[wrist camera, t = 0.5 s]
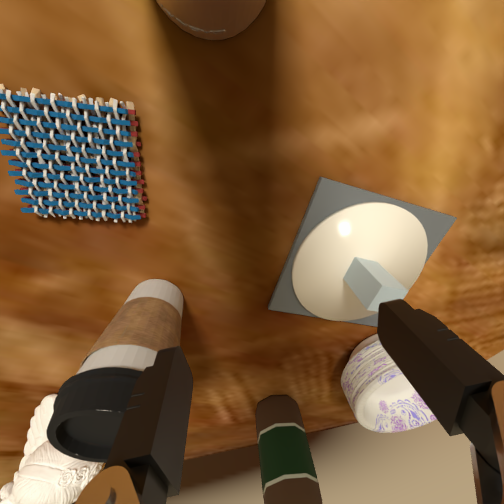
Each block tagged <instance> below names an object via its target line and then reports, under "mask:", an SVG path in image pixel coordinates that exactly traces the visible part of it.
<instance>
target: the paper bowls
mask: <svg viewBox="0 0 504 504" xmlns="http://www.w3.org/2000/svg"><path fill="white" fill-rule="evenodd" d="M341 386H342V388H343V391H344V393H345V396H346V398H347V400H348V403H349V405H350V407H351V408H352V410H353V413H354V416H355V418H356V419H357V421H358V422H359V423H360V424H361V425H362V426H364V427H365V428H367V429H369V430H372V431H376V432H382V433H393V432H401V431H405V430H410V429H413V428H417V427H420V426H423V425H425V424H427V423H430V422H432V421H434V420H436V419H437V418H436V417H435V416H434V414H433V413H432V412H431V410H430V409H429V408H428V406H427V405H426V404H425V402H424V401H423V400H422V398H421V397H420V396H419V394H418V393H417V392H416V390H415V389H414V388H413V386H412V385H411V384H410V382H409V381H408V380H407V378H406V377H405V376H404V374H403V373H402V372H401V370H400V369H399V368H398V367H397V365H396V364H395V363H394V361H393V360H392V359H391V357H390V356H389V355H388V353H387V352H386V351H385V349H384V348H383V346H382V345H381V343H380V341H379V338H378V334H375V335H373V336H370V337H368V338H367V339H365V340H364V341H362V342H361V343H360V344H359V345H358V346H357V347H356V348H355V349H354V350H353V352H352V354H351V356H350V359H349V362H348V363H347V365H346V367H345V369H344V370H343V373H342V376H341Z"/></svg>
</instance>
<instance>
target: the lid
mask: <svg viewBox="0 0 504 504" xmlns="http://www.w3.org/2000/svg"><path fill="white" fill-rule="evenodd" d="M427 248H428V243H427V236H426V233H425V230H424V228H423V226H422V224H421V223H420V221H419V220H418V219H417V218H416V217H415V216H414V215H413V214H412V213H410V212H408V211H407V210H405V209H403V208H401V207H399V206H396V205H394V204H390V203H386V202H363V203H358V204H354V205H351V206H348V207H345V208H343V209H340V210H338V211H336V212H334V213H333V214H331V215H329V216H328V217H326V218H325V219H323V220H322V221H321V222H320V223H318V224H317V225H316V226H315V227H314V228H313V229H312V230H311V231H310V232H309V233H308V235H307V236H306V237H305V238H304V240H303V241H302V243H301V244H300V246H299V248H298V250H297V252H296V254H295V257H294V260H293V265H292V272H291V278H292V285H293V288H294V291H295V294H296V296H297V298H298V300H299V301H300V303H301V304H302V305H303V306H304V307H305V308H306V309H307V310H308V311H309V312H311V313H312V314H314V315H316V316H318V317H321V318H324V319H328V320H334V321H350V320H357V319H361V318H365V317H368V316H371V315H373V314H376V313H378V308H379V304H380V303H382V302H386V301H391V300H395V299H402V300H403V298H404V297H405V295H406V294H407V293H408V290H409V289H410V288H411V287H412V285H413V284H414V283H415V281H416V280H417V278H418V277H419V275H420V273H421V271H422V269H423V267H424V264H425V261H426V256H427Z"/></svg>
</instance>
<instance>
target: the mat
mask: <svg viewBox="0 0 504 504" xmlns="http://www.w3.org/2000/svg"><path fill="white" fill-rule="evenodd" d="M363 202H386V203H390V204H394V205H396V206H399V207H401V208H403V209H405V210H407V211H408V212H410V213H412V214H413V215H414V216H415V217H416V218H417V219H418V220H419V221H420V223H421V224H422V226H423V228H424V230H425V233H426V236H427V243H428V248H427V256H426V261H425V263H426V262H427V260H428V259H429V257H430V256H431V254H432V253H433V252H434V250H435V249H436V247H437V246H438V244H439V243H440V242H441V240H442V239H443V237H444V236H445V234H446V233H447V232H448V230H449V229H450V227H451V226H452V224H453V223H454V222H455V220H456V219H457V218H456V217H453V216H450V215H447V214H444V213H440V212H437V211H434V210H430V209H427V208H424V207H420V206H417V205H414V204H410V203H407V202H404V201H400V200H397V199H394V198H390V197H387V196H383V195H380V194H377V193H373V192H370V191H367V190H363V189H360V188H357V187H353V186H350V185H347V184H343V183H340V182H337V181H333V180H330V179H327V178H323V177H320V178H319V180H318V183H317V185H316V188H315V190H314V193H313V195H312V198H311V200H310V203H309V205H308V208H307V210H306V213H305V215H304V218H303V220H302V223H301V225H300V228H299V230H298V233H297V235H296V238H295V240H294V243H293V245H292V247H291V250H290V252H289V255H288V257H287V260H286V262H285V265H284V267H283V270H282V272H281V275H280V277H279V280H278V282H277V285H276V287H275V290H274V292H273V295H272V297H271V300H270V302H269V305H268V310H274V311H281V312H287V313H293V314H300V315H306V316H312V317H318V316H316V315H314V314H312V313H311V312H309V311H308V310H307V309H306V308H305V307H304V306H303V305H302V304H301V303H300V301H299V300H298V298H297V296H296V294H295V291H294V288H293V285H292V278H291V272H292V265H293V260H294V257H295V254H296V252H297V250H298V248H299V246H300V244H301V243H302V241H303V240H304V238H305V237H306V236H307V235H308V233H309V232H310V231H311V230H312V229H313V228H314V227H315V226H316V225H317V224H318V223H320V222H321V221H322V220H323V219H325V218H326V217H328V216H329V215H331V214H333V213H334V212H336V211H338V210H340V209H343V208H345V207H348V206H351V205H354V204H358V203H363ZM319 318H321V317H319ZM344 322H350V323H357V324H363V325H369V326H376V327H378V313H376V314H373V315H371V316H368V317H365V318H361V319H357V320H350V321H344Z"/></svg>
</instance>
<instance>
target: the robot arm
mask: <svg viewBox="0 0 504 504" xmlns="http://www.w3.org/2000/svg"><path fill="white" fill-rule="evenodd" d="M156 1H157V3H158V5H159V6H160V8H161V9H162V10H163V11H164V12H165V14H166V15H167V16H168V17H169V18H170V20H172V21H173V22H174V23H175V24H176V25H178V26H179V27H180V28H181V29H182V30H184V31H186V32H188V33H190V34H192V35H193V36H195V37H199V38H203V39H207V40H223V39H226V38H230V37H233V36H235V35H237V34H239V33H240V32H242V31H243V30H245V29H246V28H247V27H248V26H249V25H250V24H251V23H252V22H253V21H254V20H255V19H256V18H257V16H258V15H259V13H260V11H261V10H262V8H263V7H264V5H265V2H266V0H156ZM377 333H378V338H379V341H380V343H381V345H382V346H383V348H384V349H385V351H386V352H387V353H388V355H389V356H390V357H391V359H392V360H393V361H394V363H395V364H396V365H397V367H398V368H399V369H400V370H401V372H402V373H403V374H404V376H405V377H406V378H407V380H408V381H409V382H410V384H411V385H412V386H413V388H414V389H415V390H416V392H417V393H418V394H419V396H420V397H421V398H422V400H423V401H424V402H425V404H426V405H427V406H428V408H429V409H430V410H431V412H432V413H433V414H434V416H435V417H436V418H437V419H438V421H439V422H440V424H441V425H442V426H443V427H444V429H445V430H446V432H447V433H448V434H449V436H453V435H458V434H462V433H464V434H465V435H466V436H467V438H468V439H469V440H470V441H471V445H470V450H471V458H472V465H473V474H474V482H475V489H476V496H477V504H504V375H503V374H502V373H501V372H499V371H498V370H497V369H496V368H495V367H493V366H492V365H491V364H490V363H489V362H488V361H486V360H485V359H484V358H483V357H482V356H481V355H479V354H478V353H477V352H476V351H475V350H474V349H472V348H471V347H470V346H469V345H468V344H467V343H465V342H464V341H463V340H462V339H459V338H458V336H457V335H456V334H455V333H454V332H452V331H451V330H449V329H448V327H447V326H445V325H444V324H443V323H442V322H441V321H440V320H438V319H437V318H436V317H435V316H433V315H431V314H429V313H427V312H425V311H423V310H421V309H416V310H414V309H413V308H412V307H411V306H410V305H409V304H407V303H406V302H405V301H404V300H402V299H395V300H391V301H386V302H382V303H380V304H379V308H378V327H377ZM192 391H193V377H192V372H191V370H190V367H189V365H188V363H187V360H186V358H185V356H184V354H183V351H182V349H181V347H180V346H174V347H170V348H165V349H160V350H159V351H158V352H157V355H156V358H155V361H154V364H153V366H149V367H146V368H145V370H144V371H143V372H142V374H141V375H140V376H139V378H138V379H137V380H136V383H135V386H134V389H133V391H132V394H131V398H130V400H129V402H128V405H127V410H126V411H125V413H124V416H123V419H122V421H121V424H120V427H119V430H118V432H117V435H116V438H115V440H114V443H113V446H112V449H111V451H110V454H109V457H108V460H107V462H106V464H105V467H104V469H103V471H101V472H100V473H99V474H97V475H96V476H95V477H94V478H93V479H92V480H91V481H90V482H89V483H88V484H87V485H86V486H85V488H84V489H83V490H82V492H81V493H80V495H79V497H78V498H77V500H76V501H75V502H74V503H72V504H166V499H167V497H171V496H175V495H179V491H180V482H181V475H182V468H183V460H184V452H185V445H186V437H187V429H188V421H189V414H190V406H191V398H192Z"/></svg>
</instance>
